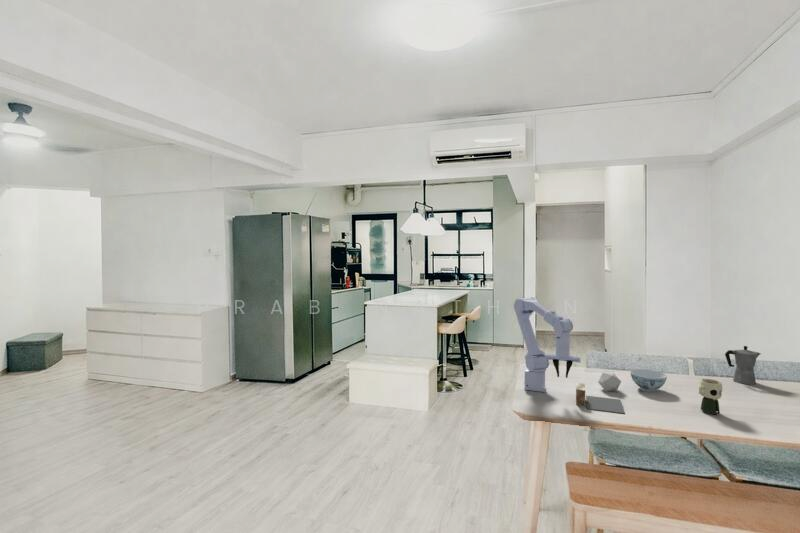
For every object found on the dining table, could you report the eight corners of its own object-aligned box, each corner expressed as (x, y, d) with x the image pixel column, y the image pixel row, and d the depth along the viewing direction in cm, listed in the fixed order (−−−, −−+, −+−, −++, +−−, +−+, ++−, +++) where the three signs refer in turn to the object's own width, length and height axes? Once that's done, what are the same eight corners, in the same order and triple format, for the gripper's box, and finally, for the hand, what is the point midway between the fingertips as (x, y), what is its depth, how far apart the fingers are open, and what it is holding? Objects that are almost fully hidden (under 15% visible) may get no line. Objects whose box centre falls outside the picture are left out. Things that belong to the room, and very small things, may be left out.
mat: (587, 409, 179) (587, 408, 179) (586, 396, 194) (586, 395, 194) (624, 413, 174) (624, 412, 174) (620, 400, 189) (620, 399, 189)
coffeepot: (753, 379, 215) (754, 344, 214) (765, 385, 206) (767, 348, 205) (719, 378, 218) (720, 343, 217) (729, 384, 209) (731, 347, 208)
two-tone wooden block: (576, 405, 184) (576, 389, 183) (576, 398, 192) (576, 382, 192) (585, 406, 183) (585, 390, 182) (584, 399, 191) (584, 383, 190)
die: (618, 396, 196) (627, 376, 198) (600, 385, 197) (609, 366, 200) (609, 396, 204) (617, 378, 206) (592, 386, 205) (600, 368, 208)
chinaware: (646, 396, 193) (646, 379, 193) (622, 385, 208) (623, 370, 207) (674, 393, 196) (675, 377, 196) (649, 383, 211) (649, 368, 211)
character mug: (706, 417, 170) (707, 384, 169) (691, 410, 177) (692, 379, 176) (729, 414, 172) (730, 383, 171) (713, 408, 179) (714, 377, 178)
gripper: (545, 347, 188) (544, 377, 189) (580, 350, 182) (580, 381, 183) (545, 343, 194) (545, 373, 195) (580, 346, 189) (580, 376, 190)
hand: (562, 376), depth 190 cm, fingers open, 3 cm apart
